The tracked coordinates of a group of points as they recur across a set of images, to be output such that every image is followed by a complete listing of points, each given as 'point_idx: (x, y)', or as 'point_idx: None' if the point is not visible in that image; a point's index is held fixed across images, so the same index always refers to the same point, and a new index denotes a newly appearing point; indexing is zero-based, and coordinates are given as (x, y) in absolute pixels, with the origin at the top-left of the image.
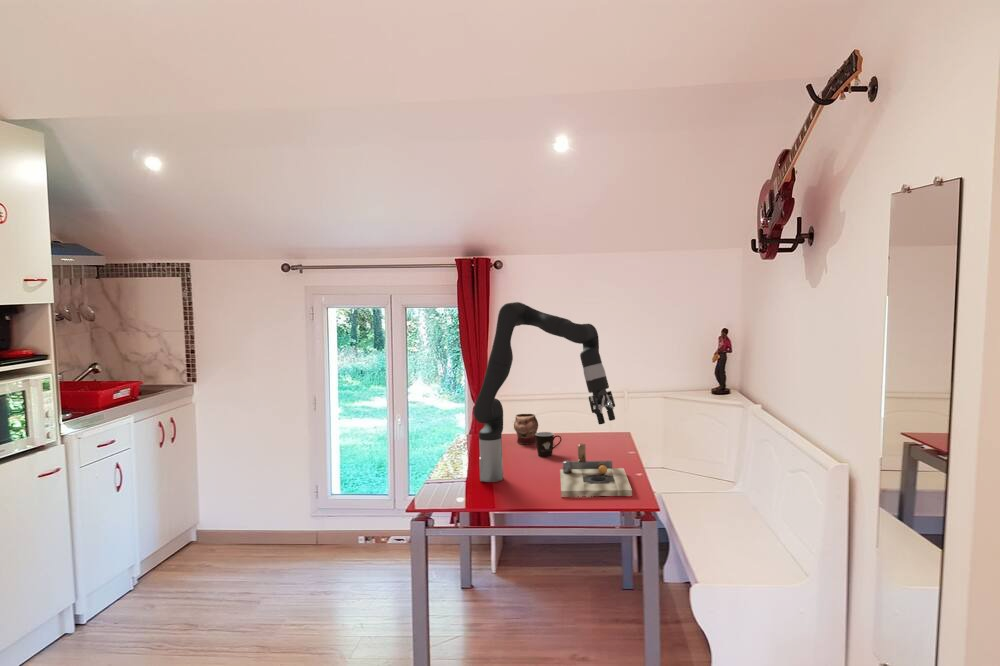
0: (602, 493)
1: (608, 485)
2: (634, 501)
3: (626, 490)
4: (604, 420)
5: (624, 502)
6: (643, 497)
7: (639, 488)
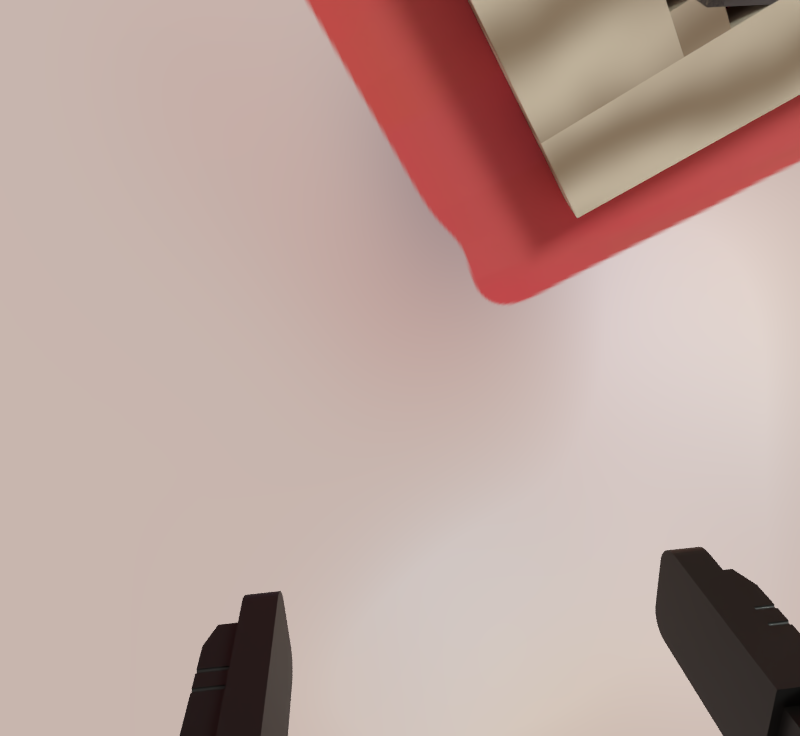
0: (490, 44)
1: (622, 31)
2: (492, 246)
3: (563, 189)
4: (289, 702)
5: (452, 208)
6: (575, 257)
7: (733, 171)
